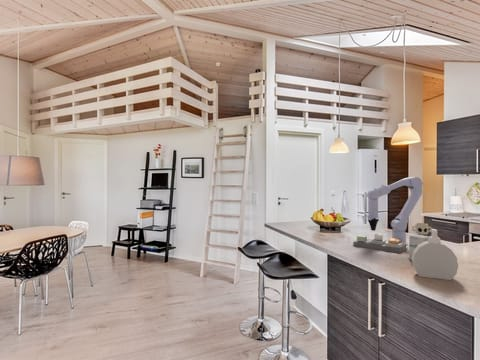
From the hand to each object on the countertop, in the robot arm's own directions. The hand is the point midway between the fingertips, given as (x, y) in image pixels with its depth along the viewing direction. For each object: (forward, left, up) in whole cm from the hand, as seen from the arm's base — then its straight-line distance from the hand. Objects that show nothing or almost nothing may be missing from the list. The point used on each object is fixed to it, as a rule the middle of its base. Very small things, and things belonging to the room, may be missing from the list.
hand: (373, 230), depth 190 cm
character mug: (-23, +23, -9) cm, 33 cm away
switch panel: (+6, +6, -9) cm, 12 cm away
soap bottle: (+48, +41, -9) cm, 64 cm away
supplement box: (+23, +31, -9) cm, 39 cm away
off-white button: (+7, +6, -4) cm, 10 cm away
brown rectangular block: (+6, +15, -6) cm, 17 cm away
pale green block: (+10, -3, -6) cm, 12 cm away
